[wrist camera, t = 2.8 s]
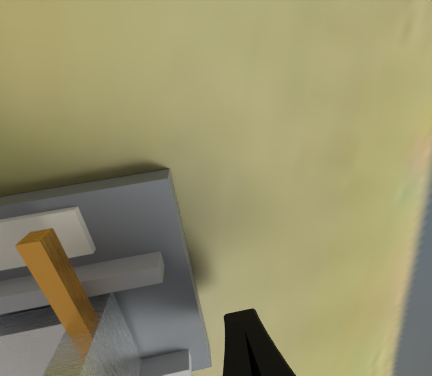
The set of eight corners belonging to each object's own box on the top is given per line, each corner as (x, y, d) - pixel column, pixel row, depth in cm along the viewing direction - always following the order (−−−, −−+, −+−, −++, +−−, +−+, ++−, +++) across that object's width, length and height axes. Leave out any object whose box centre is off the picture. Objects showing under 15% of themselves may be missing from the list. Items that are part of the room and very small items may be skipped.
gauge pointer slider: (141, 359, 12) (115, 516, 7) (38, 381, 11) (-52, 560, 7) (76, 209, 8) (-47, 342, 4) (-76, 235, 8) (-405, 415, 3)
